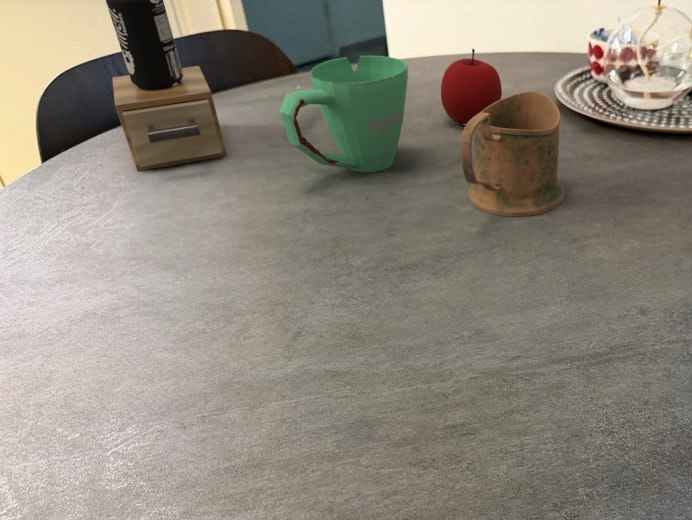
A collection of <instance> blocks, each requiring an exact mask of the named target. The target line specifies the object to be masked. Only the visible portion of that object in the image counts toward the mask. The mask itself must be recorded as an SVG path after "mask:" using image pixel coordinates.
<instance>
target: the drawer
mask: <svg viewBox="0 0 692 520" xmlns="http://www.w3.org/2000/svg"><path fill="white" fill-rule="evenodd" d="M123 117H124V120H125V123H126V126H127V129H128V132H129V135H130V138H131V141H132V144H133V147H134V150H135V152H136V155H137V158H138V161H139V164H140V167H143V166H148V165H154V164H160V163H166V162H172V161H178V160H183V159H189V158H195V157H201V156H207V155H213V154H218V153H222V150H221V146H220V142H219V138H218V134H217V130H216V127H215V123H214V119H213V115H212V111H211V107H210V103H209V101H208V99H207V100H202V99H199V100H192V101H185V102H179V103H172V104H165V105H158V106H151V107H145V108H138V109H131V110H129V111H125V112H123Z"/></svg>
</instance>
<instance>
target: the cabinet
mask: <svg viewBox="0 0 692 520" xmlns="http://www.w3.org/2000/svg"><path fill="white" fill-rule="evenodd" d="M182 71H183V78H182V79H181V82H180V83H179V84H178V85H176V86H173V87H170V88H166V89H160V90H143V89H140V88H138V87H137V86H136V85H135V84H133V83H132V81H131V78H130V75H129V74H127V75H119V76H113V77H111V78H112V90H113V100H114V107H115V110H116V113H117V116H118V119H119V122H120V124H121V127H122V128H121V129H122V131H123V133H124V136H125V140H126V142H127V145H128V148H129V152H130V154H131V157H132V160H133V163H134V165H135V169H136V172H141V171H146V170H152V169H158V168H163V167H169V166H176V165H181V164H186V163H192V162H197V161H204V160H209V159H215V158H221V157H226V156H228V153H227V148H226V146H225V145H226V144H225V142H224V137H223V134H222V129H221V126H220V122H219V118H218V114H217V111H216V110H217V109H216V106H215V102H214V98H213V94H212V91H211V89H210V87H209V85H208V82H207V80H206V78H205V75H204V74H203V72H202V70H201V67H200V66H199V65H196V66H195V65H194V66H189V67H182ZM199 99H202V100H207V99H208V101H209V103H210V107H211V111H212V115H213V119H214V123H215V127H216V130H217V134H218V138H219V142H220V146H221V150H222V153H218V154H213V155H207V156H201V157H195V158H189V159H183V160H178V161H172V162H166V163H160V164H154V165H148V166H143V167H140V164H139V161H138V158H137V155H136V152H135V150H134V147H133V144H132V141H131V138H130V135H129V132H128V129H127V126H126V123H125V120H124V117H123V112H125V111H129V110H131V109H138V108H145V107H151V106H158V105H165V104H172V103H179V102H185V101H192V100H199Z"/></svg>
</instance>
